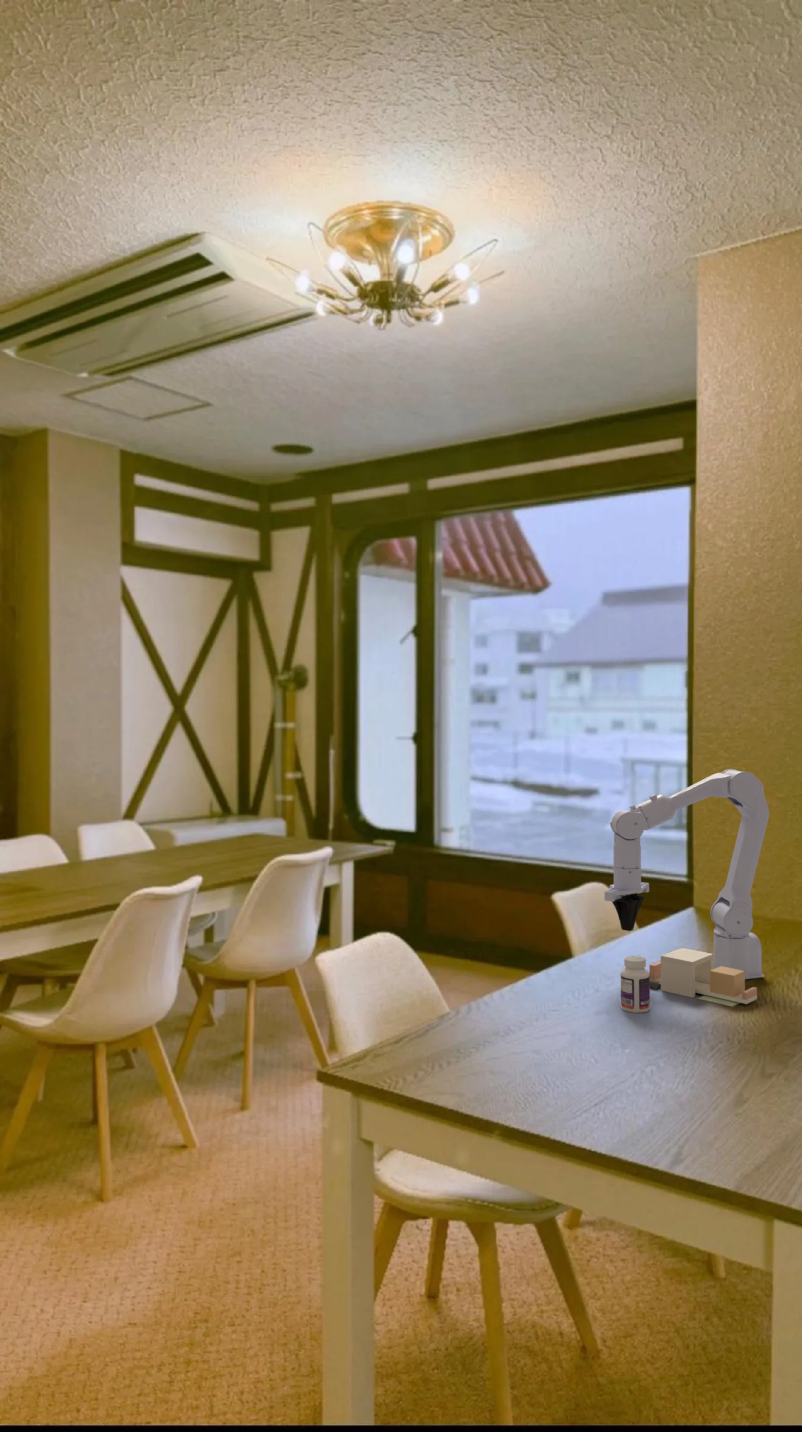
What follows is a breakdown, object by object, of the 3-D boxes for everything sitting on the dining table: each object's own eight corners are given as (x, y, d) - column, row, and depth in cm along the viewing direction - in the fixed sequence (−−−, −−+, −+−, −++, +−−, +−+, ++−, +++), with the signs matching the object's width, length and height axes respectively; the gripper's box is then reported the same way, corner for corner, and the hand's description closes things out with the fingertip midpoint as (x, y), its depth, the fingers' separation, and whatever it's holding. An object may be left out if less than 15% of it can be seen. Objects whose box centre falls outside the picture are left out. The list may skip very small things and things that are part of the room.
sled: (660, 977, 202) (660, 954, 202) (757, 998, 187) (756, 973, 187) (649, 982, 199) (649, 958, 199) (746, 1004, 184) (746, 978, 184)
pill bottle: (647, 1005, 185) (647, 955, 185) (652, 1014, 180) (651, 962, 180) (619, 1004, 186) (618, 954, 186) (622, 1013, 180) (622, 962, 180)
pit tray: (656, 976, 205) (656, 970, 205) (677, 980, 201) (677, 975, 201) (635, 984, 199) (635, 978, 199) (656, 989, 195) (656, 983, 195)
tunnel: (682, 981, 200) (682, 947, 200) (713, 988, 196) (713, 954, 195) (660, 990, 194) (660, 955, 194) (692, 997, 189) (692, 962, 189)
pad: (719, 989, 195) (719, 988, 195) (752, 997, 190) (752, 996, 190) (698, 999, 189) (698, 998, 189) (732, 1006, 184) (732, 1005, 184)
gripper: (629, 860, 213) (629, 921, 213) (592, 868, 202) (592, 932, 203) (657, 864, 208) (657, 926, 208) (621, 872, 197) (621, 938, 198)
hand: (627, 929), depth 205 cm, fingers closed
